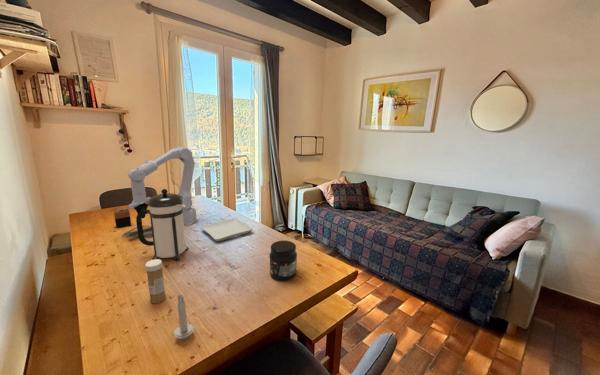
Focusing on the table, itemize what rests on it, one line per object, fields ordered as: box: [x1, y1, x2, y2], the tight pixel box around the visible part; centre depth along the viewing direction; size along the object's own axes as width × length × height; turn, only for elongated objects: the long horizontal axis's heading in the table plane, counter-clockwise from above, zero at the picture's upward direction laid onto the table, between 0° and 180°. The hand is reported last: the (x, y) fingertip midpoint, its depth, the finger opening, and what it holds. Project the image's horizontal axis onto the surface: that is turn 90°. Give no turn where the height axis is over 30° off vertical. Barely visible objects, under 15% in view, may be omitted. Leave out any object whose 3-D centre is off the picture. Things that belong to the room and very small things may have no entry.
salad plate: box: [200, 217, 254, 242], centre depth 135 cm, size 21×21×3 cm
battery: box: [113, 207, 132, 229], centre depth 139 cm, size 4×7×10 cm, turn 130°
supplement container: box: [269, 240, 298, 282], centre depth 96 cm, size 10×10×12 cm
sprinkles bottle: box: [144, 258, 167, 304], centre depth 80 cm, size 5×5×13 cm
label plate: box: [121, 225, 153, 239], centre depth 133 cm, size 15×13×1 cm
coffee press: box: [135, 188, 189, 262], centre depth 106 cm, size 17×16×30 cm
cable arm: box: [126, 225, 152, 238], centre depth 128 cm, size 14×4×4 cm, turn 141°
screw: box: [173, 294, 195, 342], centre depth 66 cm, size 13×5×5 cm
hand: (142, 217), depth 131 cm, fingers closed
